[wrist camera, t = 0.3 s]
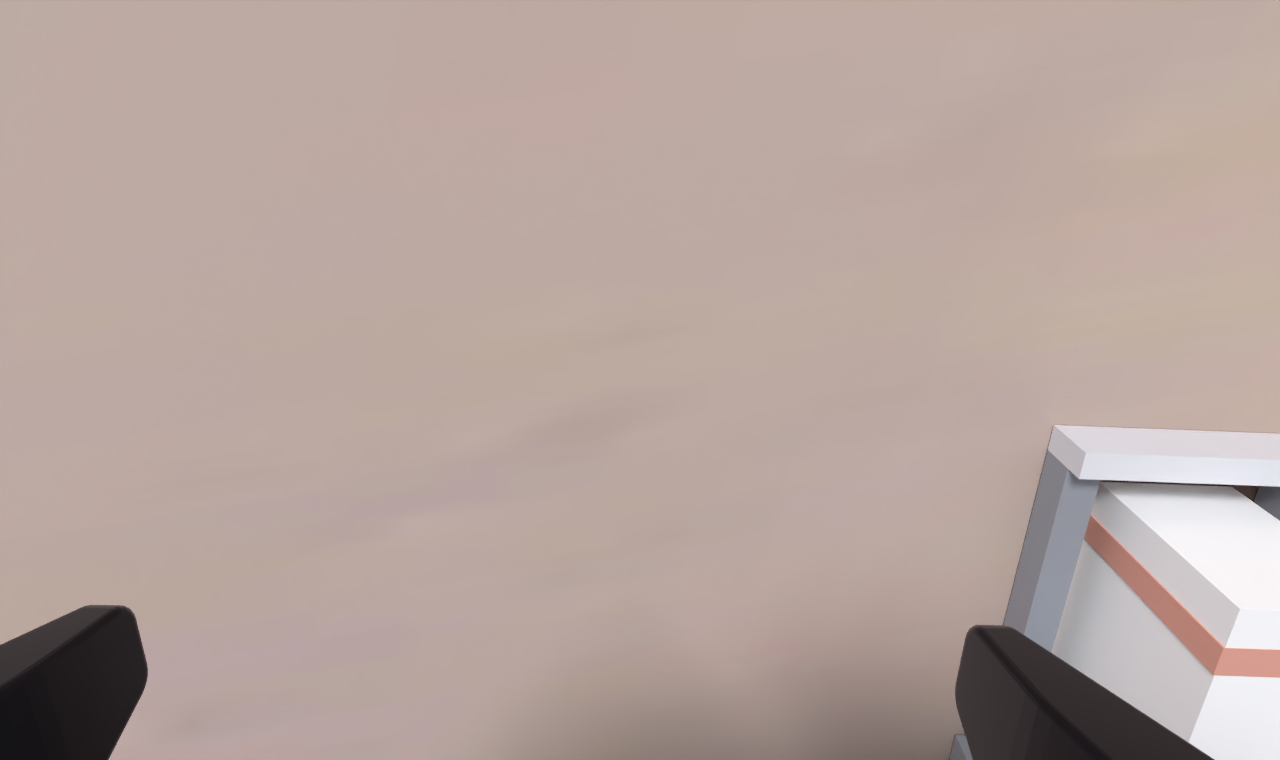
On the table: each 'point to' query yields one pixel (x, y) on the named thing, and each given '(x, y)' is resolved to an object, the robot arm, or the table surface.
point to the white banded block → (1182, 612)
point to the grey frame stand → (1072, 491)
